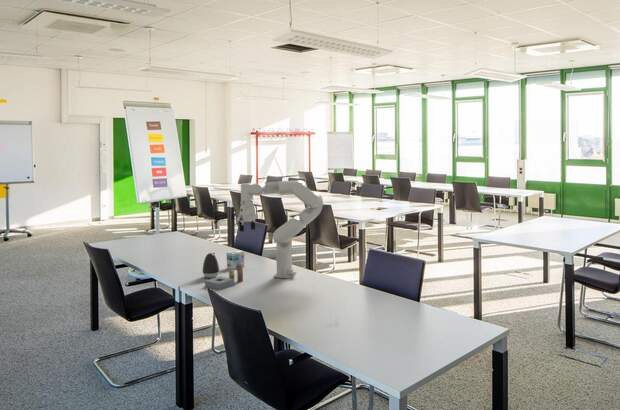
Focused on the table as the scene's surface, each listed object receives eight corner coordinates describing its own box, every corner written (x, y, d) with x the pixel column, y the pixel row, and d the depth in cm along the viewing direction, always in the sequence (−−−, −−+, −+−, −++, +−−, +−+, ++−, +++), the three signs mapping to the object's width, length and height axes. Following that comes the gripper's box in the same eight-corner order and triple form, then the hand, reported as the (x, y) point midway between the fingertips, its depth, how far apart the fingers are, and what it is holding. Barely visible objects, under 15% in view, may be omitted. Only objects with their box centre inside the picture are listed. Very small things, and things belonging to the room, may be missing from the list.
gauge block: (234, 284, 289) (234, 279, 288) (219, 289, 279) (219, 283, 278) (220, 281, 295) (219, 276, 295) (205, 286, 286) (204, 280, 285)
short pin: (235, 278, 304) (235, 270, 303) (231, 279, 301) (231, 271, 301) (231, 277, 306) (231, 269, 305) (228, 278, 303) (227, 270, 303)
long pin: (244, 281, 297) (243, 263, 296) (240, 282, 295) (239, 264, 293) (240, 280, 299) (239, 262, 298) (236, 281, 296) (235, 263, 295)
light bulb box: (233, 269, 326) (233, 253, 324) (226, 268, 330) (225, 252, 328) (244, 266, 334) (244, 250, 333) (237, 265, 338) (237, 249, 337)
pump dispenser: (222, 275, 311) (221, 251, 309) (215, 279, 301) (214, 255, 299) (207, 274, 313) (206, 251, 312) (199, 278, 303) (198, 254, 302)
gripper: (241, 204, 297) (241, 232, 299) (261, 202, 310) (261, 229, 312) (232, 203, 301) (232, 231, 303) (252, 201, 315) (253, 227, 317)
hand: (247, 230), depth 308 cm, fingers open, 9 cm apart
